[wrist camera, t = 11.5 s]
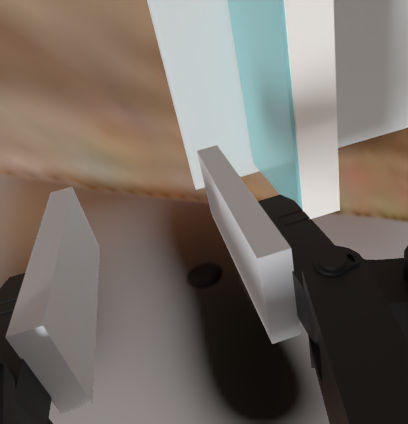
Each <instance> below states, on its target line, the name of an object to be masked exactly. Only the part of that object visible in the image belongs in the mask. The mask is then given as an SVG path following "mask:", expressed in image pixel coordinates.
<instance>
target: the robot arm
mask: <svg viewBox="0 0 408 424" xmlns="http://www.w3.org/2000/svg"><path fill="white" fill-rule="evenodd" d="M197 155H198V159H199V163H200V167H201V171H202V175H203V180H204V184H205V188H206V192H207V196H208V200H209V204H210V209H211V213H212V216H213V218H214V220H215V222H216V224H217V226H218V228H219V230H220V233H221V235H222V237H223V239H224V241H225V243H226V245H227V248H228V250H229V252H230V254H231V256H232V258H233V261H234V263H235V265H236V267H237V269H238V271H239V273H240V276H241V278H242V280H243V282H244V284H245V286H246V288H247V291H248V293H249V295H250V297H251V299H252V301H253V303H254V306H255V308H256V310H257V312H258V314H259V316H260V318H261V321H262V323H263V325H264V327H265V329H266V331H267V333H268V336H269V337H270V340H271V342H272V344H273V343H276V342H279V341H282V340H285V339H288V338H292V337H295V336H297V335H301V328H300V321H301V323H302V325H303V326H304V328H305V330H306V332H307V333H308V337H309V347H310V357H311V366H312V368H315V370H316V374H317V377H318V381H319V385H320V389H321V393H322V396H323V400H324V404H325V407H326V411H327V415H328V419H329V423H330V424H408V246H407V248H406V249H405V251H404V258H399V259H385V260H365V259H363V258H362V257H361V256H360V255H359V254H358V253H357V252H355V251H353V250H351V249H349V248H345V247H340V246H335V245H334V244H333V243H332V242H331V241H330V239H329V238H328V237H327V236H326V235H325V234H324V233H323V232H322V231H321V230H320V228H319V227H318V226H317V225H316V224H315V223H314V222H313V221H312V220H311V219H310V218H309V216H308V215H307V214H306V213H305V212H303V210H302V209H301V207H300V206H299V205H298V204H297V203H296V202H295V201H294V200H292V199H290V198H287V197H285V196H283V195H278V196H274V197H271V198H268V199H264V200H261V201H257V200H256V198H255V197H254V196H253V194H252V193H251V192H250V190H249V189H248V187H247V186H246V185H245V183H244V182H243V180H242V179H241V178H240V176H239V175H238V174H237V172H236V171H235V169H234V168H233V167H232V165H231V164H230V162H229V161H228V160H227V158H226V157H225V156H224V154H223V153H222V151H221V150H220V149H219V147H218V146H217V145H215V146H212V147H208V148H205V149H201V150H198V151H197ZM99 253H100V247H99V245H98V243H97V241H96V239H95V237H94V234H93V232H92V230H91V228H90V225H89V223H88V221H87V219H86V217H85V214H84V212H83V210H82V208H81V205H80V203H79V201H78V199H77V197H76V194H75V192H74V190H73V188H72V187H69V188H66V189H63V190H59V191H55V192H52V193H50V197H49V199H48V203H47V206H46V209H45V212H44V215H43V219H42V222H41V225H40V228H39V231H38V235H37V238H36V241H35V244H34V247H33V251H32V254H31V257H30V260H29V264H28V267H27V270H26V273H23V274H19V275H16V276H13V277H10V278H9V279H8V280H7V281H6V282H5V283H4V285H3V286H2V287H1V288H0V424H53V423H52V422H51V421H50V419H49V410H50V404H51V401H52V402H53V403H54V405H55V406H56V408H57V409H58V410H59V412H60V413H65V412H68V411H71V410H74V409H77V408H80V407H83V406H86V405H89V404H92V400H93V381H94V360H95V359H94V358H95V338H96V317H97V295H98V274H99V272H98V271H99Z"/></svg>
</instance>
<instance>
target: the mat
mask: <svg viewBox="0 0 408 424" xmlns="http://www.w3.org/2000/svg"><path fill="white" fill-rule="evenodd" d="M147 2H148V6H149V10H150V14H151V18H152V22H153V26H154V29H155V33H156V37H157V41H158V45H159V49H160V53H161V57H162V61H163V65H164V68H165V72H166V76H167V80H168V84H169V88H170V92H171V96H172V100H173V104H174V107H175V111H176V115H177V119H178V123H179V127H180V131H181V135H182V139H183V143H184V146H185V150H186V154H187V158H188V162H189V166H190V170H191V174H192V178H193V182H194V185H195V188H196V190H197V189H201V188H204V187H205V184H204V180H203V175H202V171H201V167H200V163H199V159H198V155H197V151H198V150H201V149H205V148H208V147H212V146H215V145H217V146H218V147H219V149H220V150H221V151H222V153H223V154H224V156H225V157H226V158H227V160H228V161H229V162H230V164H231V165H232V167H233V168H234V169H235V171H236V172H237V174H238V175H239V176H240V177H241V176H245V175H248V174H252V173H255V172H258V171H260V170H259V169H258V168H257V167H256V166H255V165H254V163H253V158H252V151H251V145H250V139H249V133H248V126H247V120H246V114H245V107H244V101H243V95H242V89H241V82H240V76H239V70H238V63H237V57H236V51H235V44H234V38H233V32H232V26H231V19H230V13H229V7H228V0H147ZM334 34H335V68H336V102H337V136H338V148H340V147H343V146H347V145H350V144H353V143H357V142H360V141H364V140H367V139H370V138H374V137H377V136H381V135H384V134H387V133H391V132H394V131H398V130H401V129H404V128H408V0H334Z"/></svg>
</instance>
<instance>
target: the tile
mask: <svg viewBox="0 0 408 424" xmlns="http://www.w3.org/2000/svg"><path fill="white" fill-rule="evenodd" d="M228 7H229V13H230V19H231V26H232V32H233V38H234V44H235V51H236V57H237V63H238V70H239V76H240V82H241V89H242V95H243V101H244V107H245V114H246V120H247V126H248V133H249V139H250V145H251V151H252V158H253V163H254V165H255V166H256V167H257V168H258V169H259V170H260V172H261V173H262V174H263V175H264V176H265V177H266V179H267V180H268V181H269V182H270V183H271V184H272V185H273V187H274V188H275V189H276V190H277V191H278V192H279V194H280V195H283V196H285V197H287V198H290V199H292V200H294V201H295V202H296V203H297V204H298V205H299V206H300V207H301V209H302V210H303V212H305V213H306V214H307V215H308V216H309V218H310V219H313V218H316V217H319V216H322V215H325V214H329V213H332V212H335V211H338V210H340V204H339V170H338V136H337V102H336V68H335V34H334V0H228Z"/></svg>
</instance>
